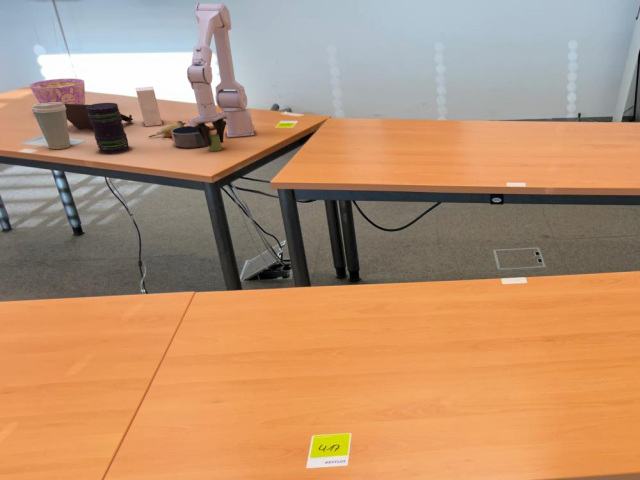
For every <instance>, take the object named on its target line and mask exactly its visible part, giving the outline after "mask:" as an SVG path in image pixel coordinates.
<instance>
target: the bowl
mask: <svg viewBox="0 0 640 480" xmlns="http://www.w3.org/2000/svg"><path fill="white" fill-rule="evenodd" d="M171 134H172V137H171V139H172V138H173V139H172V143H173V145H174V146H175V147H178V148H181V149H196V148H202V147H205V146H206V147H207V145H206V144H205V142H204V140H203V138H202V136H201V135H200V133H199V132H198V130H197V129H196V128H195V127H192V126H190V125H184V126H183V127H178V128H175V129H173V130H171Z"/></svg>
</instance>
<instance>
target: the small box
mask: <svg viewBox="0 0 640 480" xmlns="http://www.w3.org/2000/svg"><path fill="white" fill-rule="evenodd" d="M135 92H136V96H137V99H138V104H139V108H140V113H141V115H142V120H143V124H144V127H152V126H162V125H163V122H162V117H161V113H160V109H159V105H158V102H157V101H158V100H157V96H156V93H155V89H154V86H142V87H141V86H140V87H139V86H138V87H135Z"/></svg>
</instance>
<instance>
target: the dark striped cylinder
mask: <svg viewBox="0 0 640 480" xmlns="http://www.w3.org/2000/svg"><path fill="white" fill-rule="evenodd" d="M88 105H89V106H87V107H86V108H87V110H88V114H89V115H88V116H89V119H90V122H91V124H92V126H93V129H94V130H93V129H92V130H93V132H94V139H95V143H96V146H97V148H98V149H99V150H98V151H99V154H101V155H102V154H103V155H115V154H116V155H117V154H123V153H126V152H129V151H130V150H131V148H130V145H129V141H128V137H127V133H126V132H125V129H124V125H123V120H122V118H121V114H122V113H121V112H120V109H119V104H117V102H100V103H99V102H97V103H92V104H88Z"/></svg>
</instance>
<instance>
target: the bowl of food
mask: <svg viewBox="0 0 640 480" xmlns="http://www.w3.org/2000/svg"><path fill="white" fill-rule="evenodd" d="M29 88H30V90H31V92H32V93H33V95H34V97H35V98H36V100H37V101H38V104H40V103H50V102H62V103H63V104H84V105H86V104H85V103H86V89H85V80H84V79H81V78H53V79H45V80H38V81H35V82H32V83H30V84H29Z"/></svg>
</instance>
